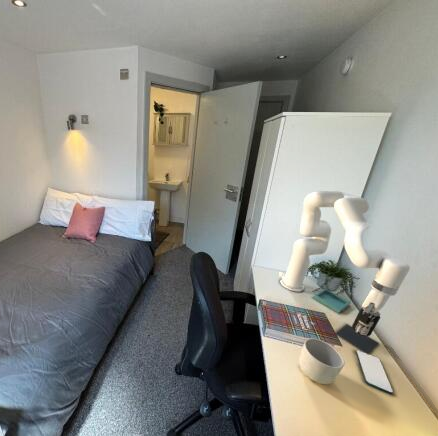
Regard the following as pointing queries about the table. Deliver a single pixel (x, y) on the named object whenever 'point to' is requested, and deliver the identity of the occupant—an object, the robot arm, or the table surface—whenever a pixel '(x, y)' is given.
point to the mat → (357, 339)
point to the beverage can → (363, 328)
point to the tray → (332, 300)
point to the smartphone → (373, 371)
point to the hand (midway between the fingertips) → (366, 319)
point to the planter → (320, 361)
